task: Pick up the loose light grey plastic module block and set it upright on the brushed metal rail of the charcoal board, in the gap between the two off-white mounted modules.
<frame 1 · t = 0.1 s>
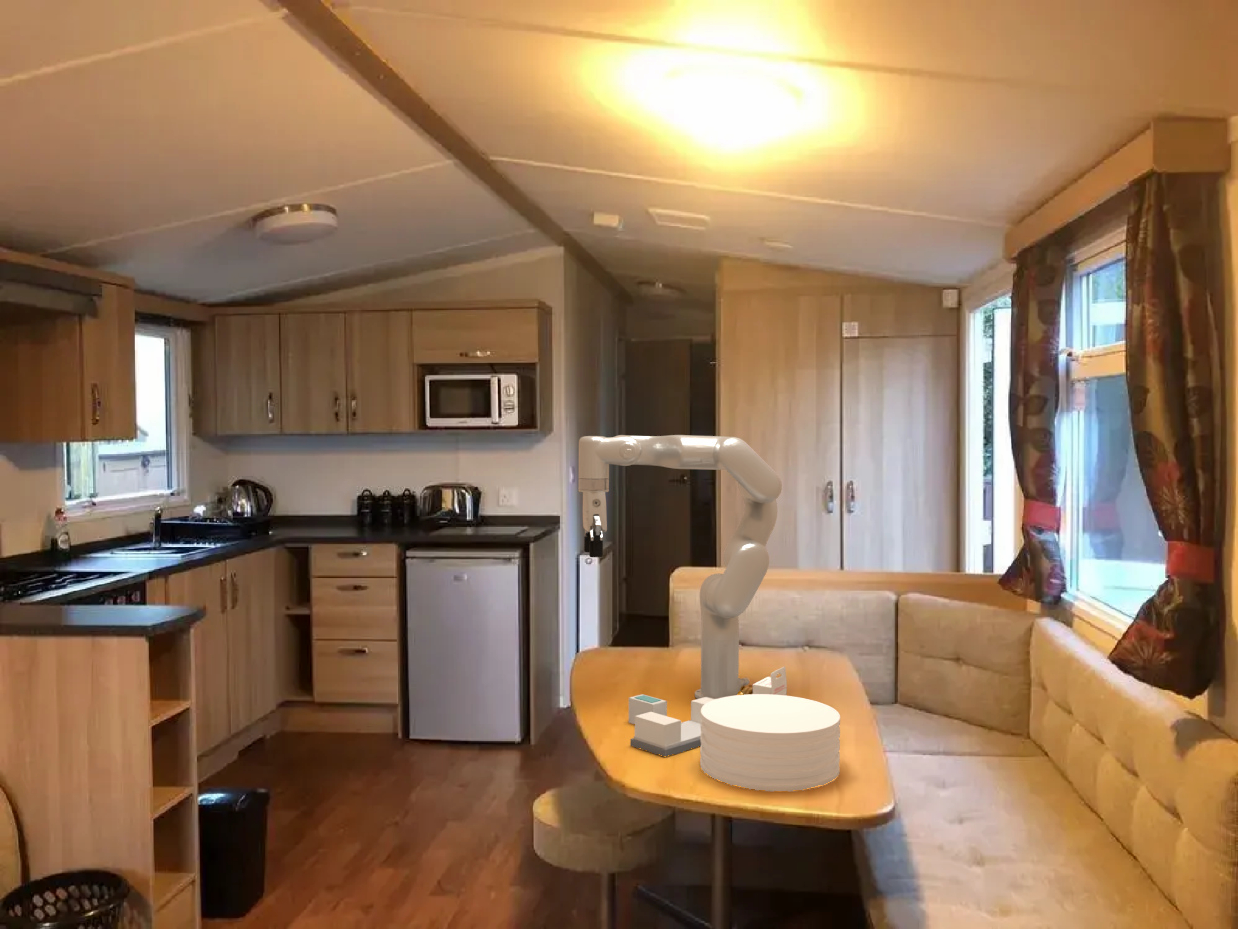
hand: (593, 554, 254), 37 cm above the table, tool pointing down, fingers open, 9 cm apart
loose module: (647, 725, 237), on the table
rail board: (686, 740, 225), on the table
plate stack: (769, 769, 208), on the table
ink cartridge box: (769, 733, 231), on the table
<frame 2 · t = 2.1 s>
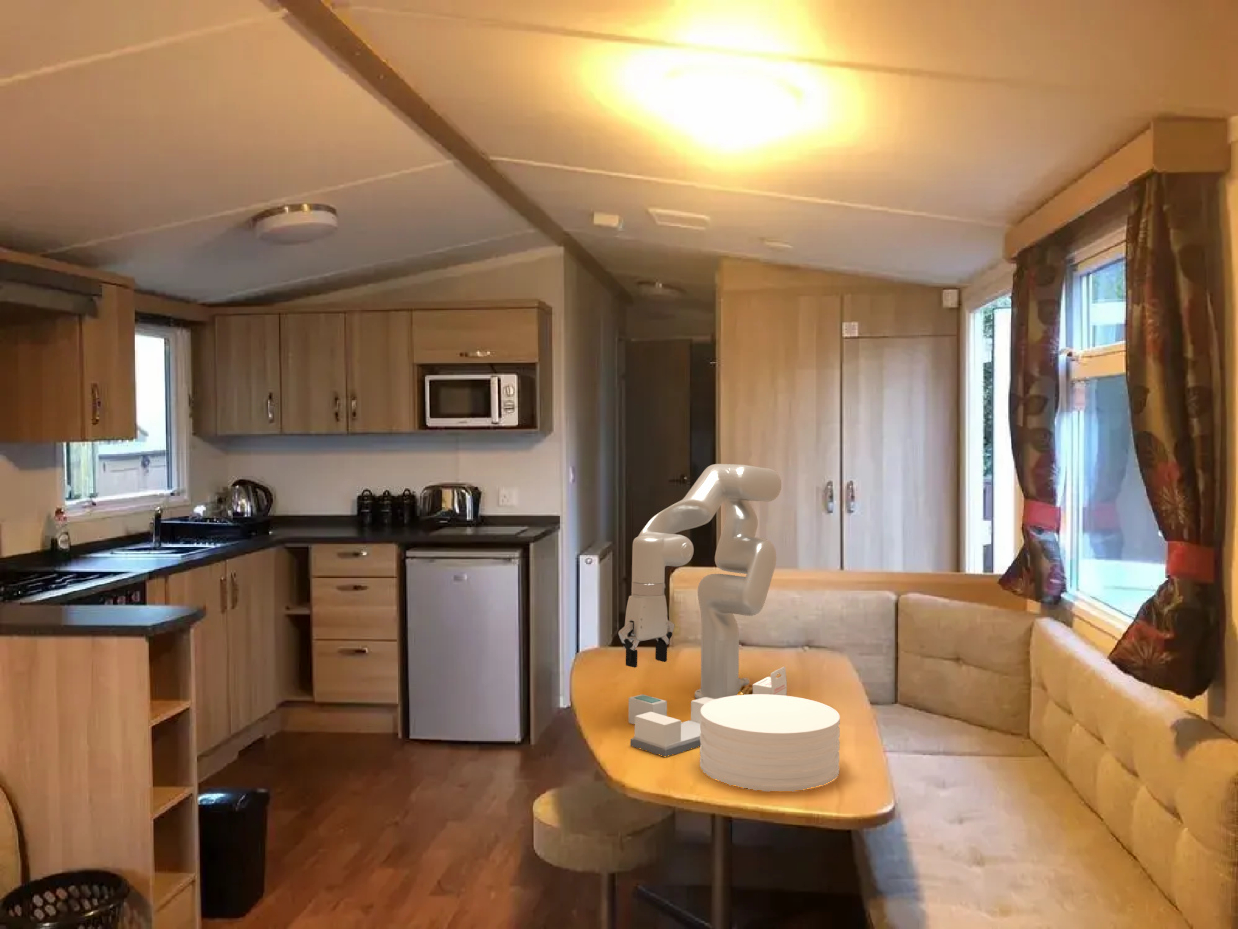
hand: (646, 663, 236), 14 cm above the table, tool pointing down, fingers open, 9 cm apart
nothing on the table moved.
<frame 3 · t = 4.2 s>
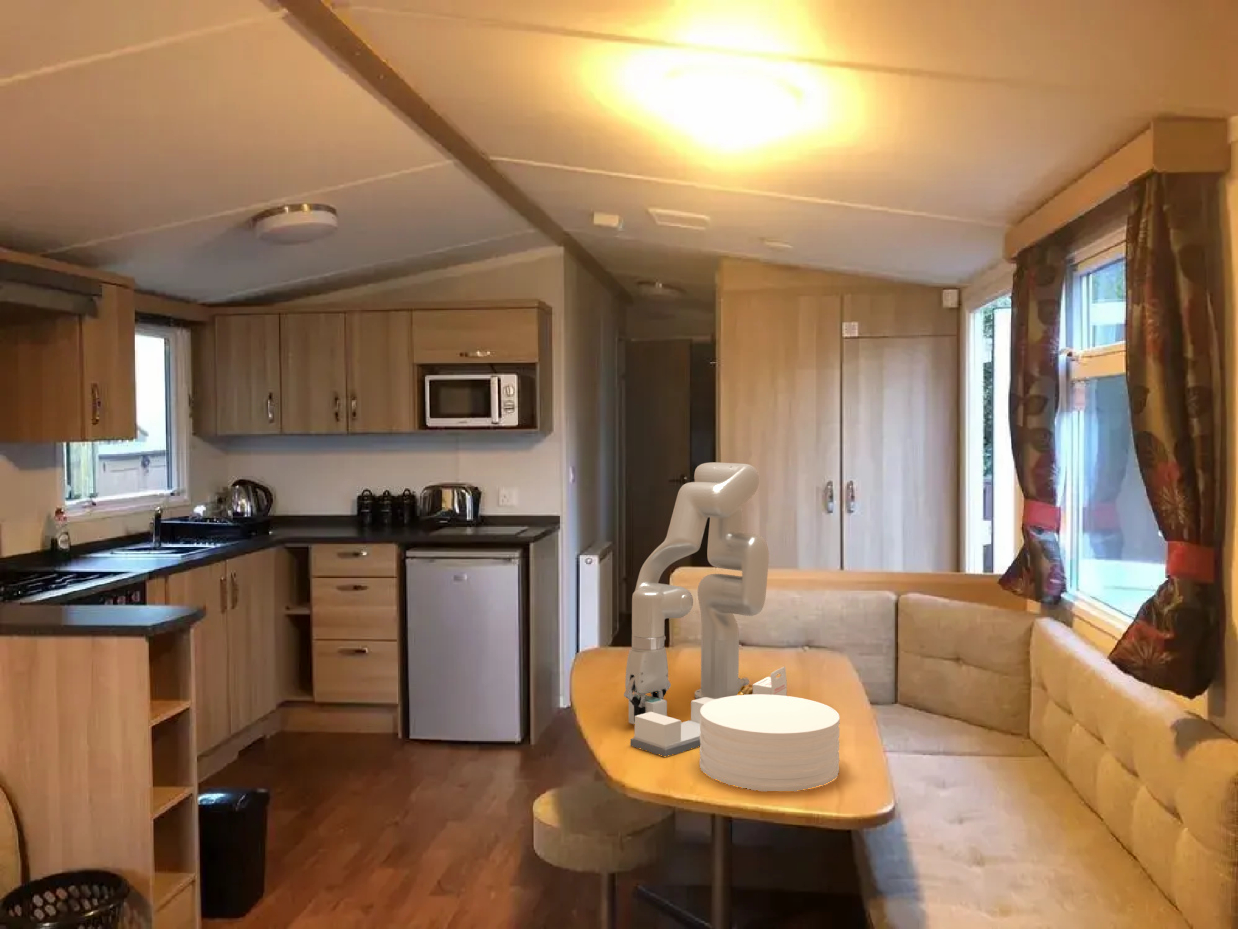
hand: (647, 720, 237), 1 cm above the table, tool pointing down, fingers closed on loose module, 4 cm apart
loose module: (647, 724, 237), on the table, touching gripper
everything else where it was.
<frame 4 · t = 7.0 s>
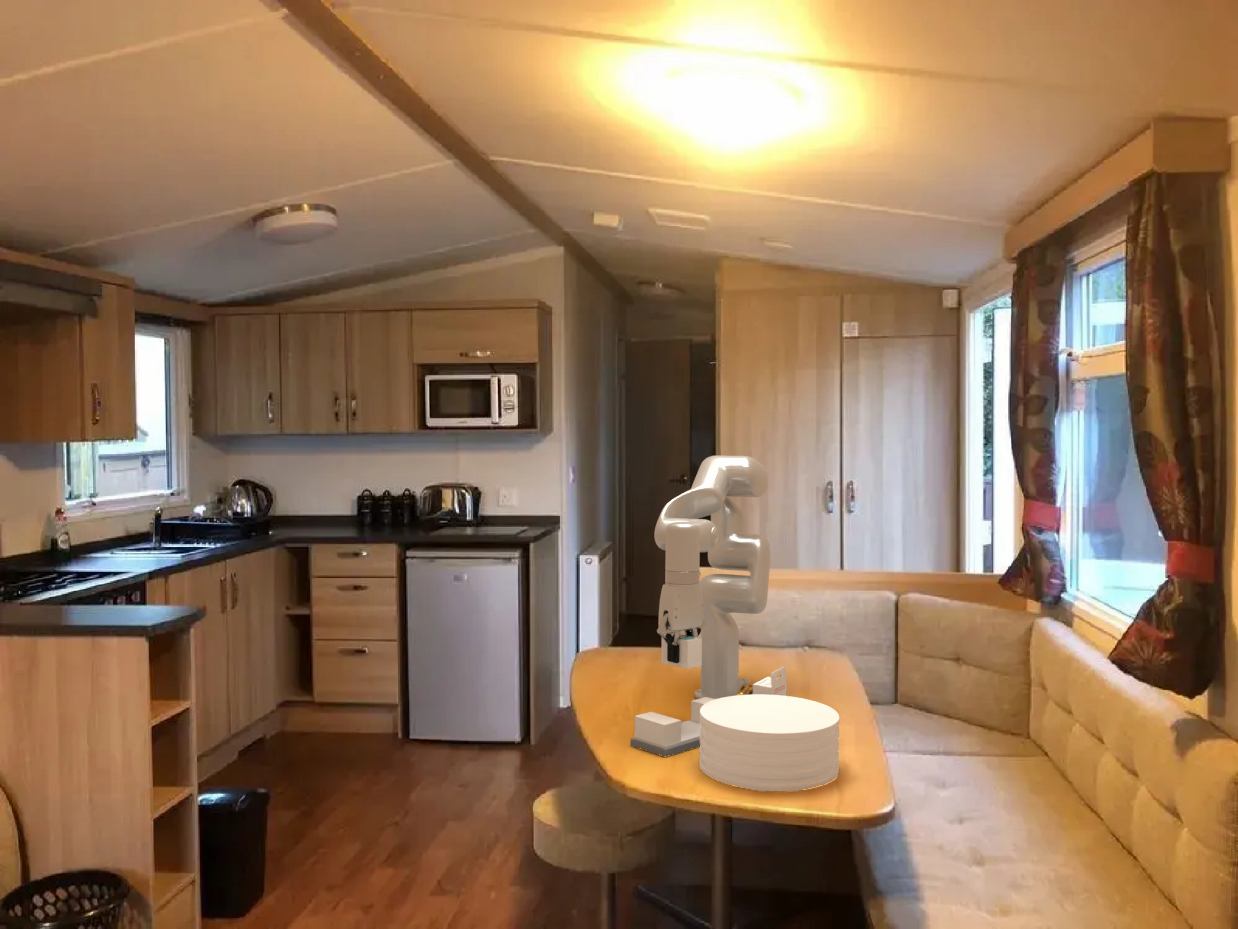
hand: (681, 659, 226), 18 cm above the table, tool pointing down, fingers closed on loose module, 4 cm apart
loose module: (681, 664, 226), point 17 cm above the table, touching gripper
everything else where it was.
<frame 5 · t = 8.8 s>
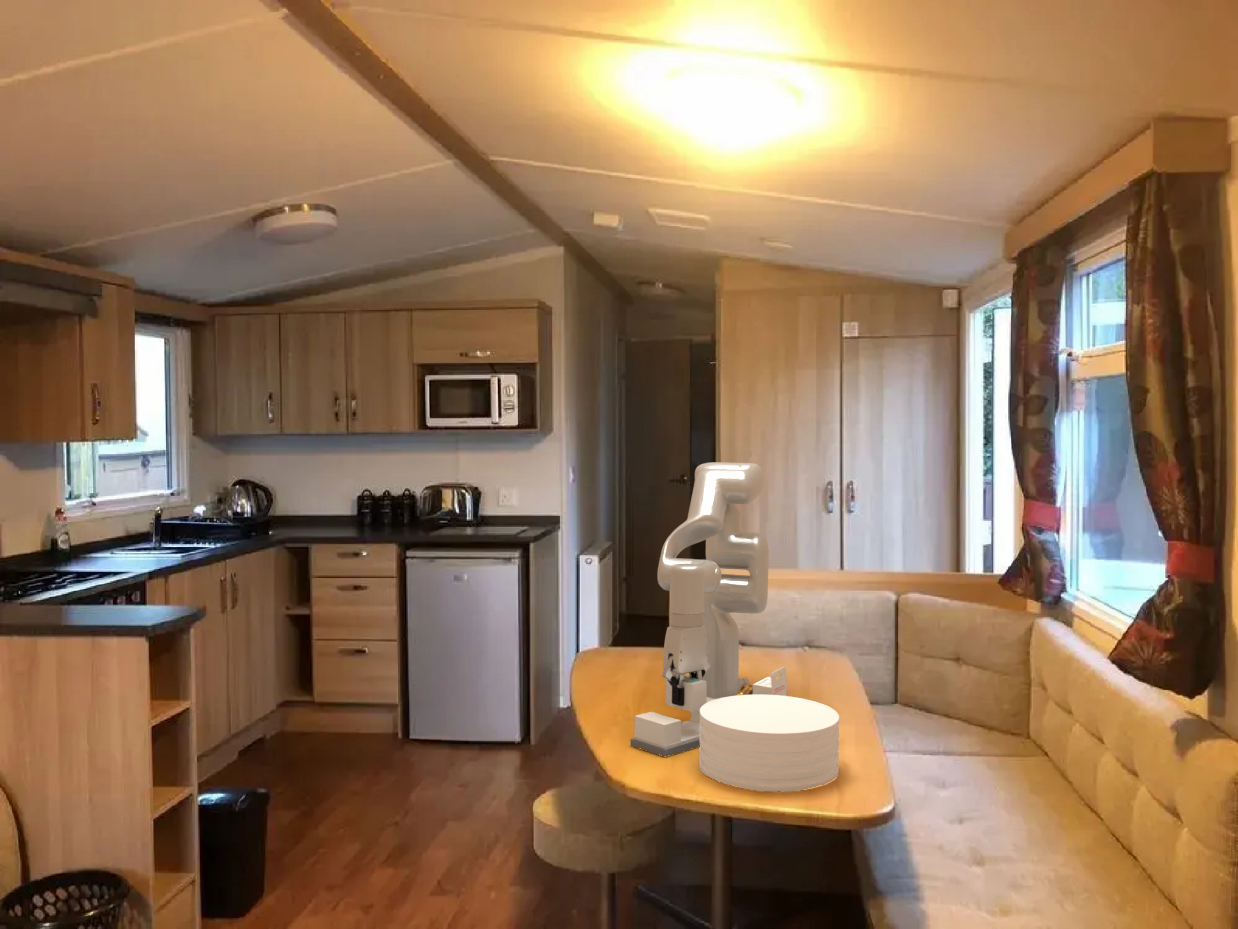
hand: (686, 701, 225), 9 cm above the table, tool pointing down, fingers closed on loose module, 4 cm apart
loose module: (685, 706, 225), point 7 cm above the table, touching gripper
everything else where it was.
when the fingers open (5 cm above the table, at t = 9.9 s): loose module drops 2 cm, resting on rail board.
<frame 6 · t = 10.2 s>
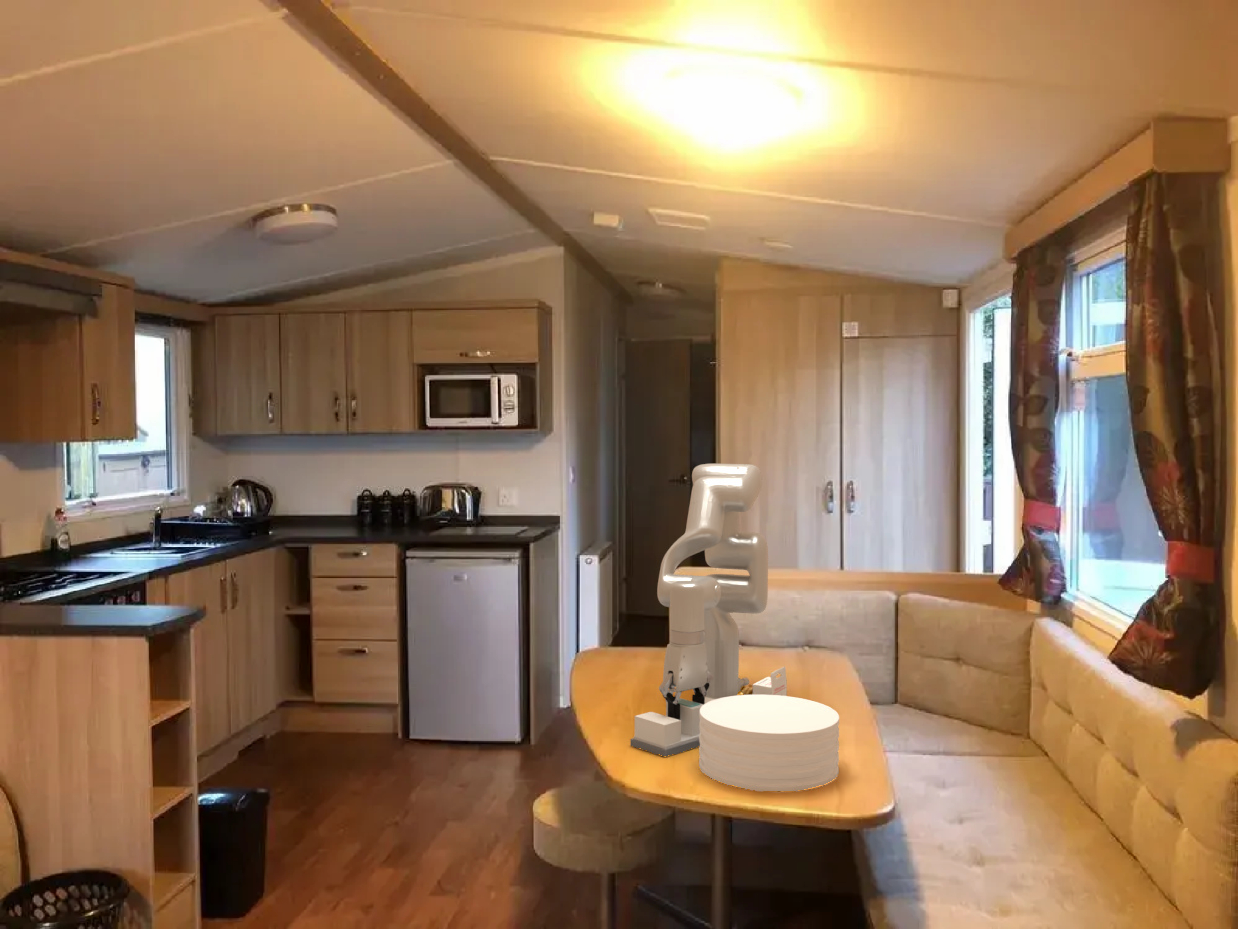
hand: (686, 716, 225), 5 cm above the table, tool pointing down, fingers open, 7 cm apart
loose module: (686, 730, 225), point 2 cm above the table, touching rail board
everything else where it was.
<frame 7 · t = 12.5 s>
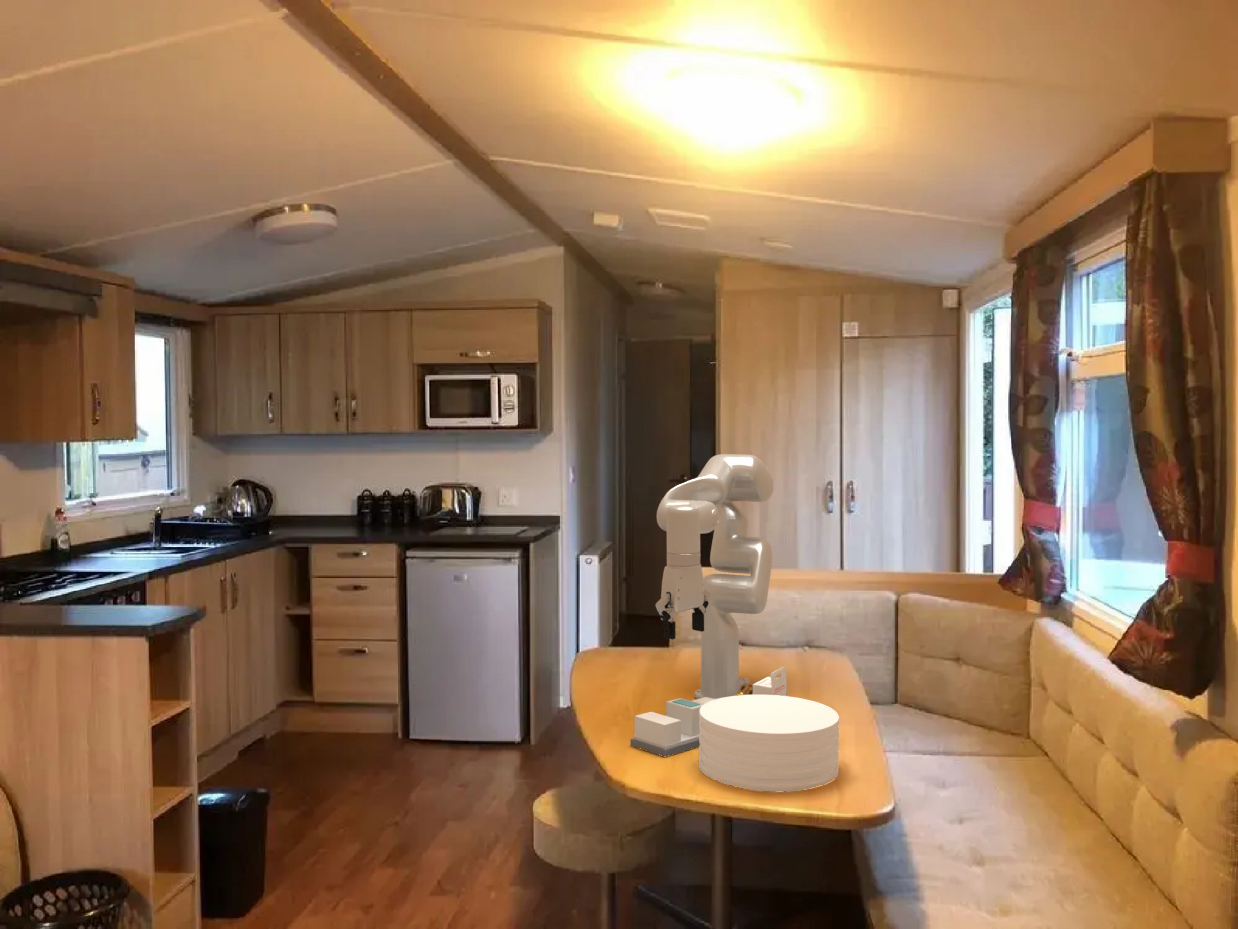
hand: (683, 634, 231), 22 cm above the table, tool pointing down, fingers open, 9 cm apart
nothing on the table moved.
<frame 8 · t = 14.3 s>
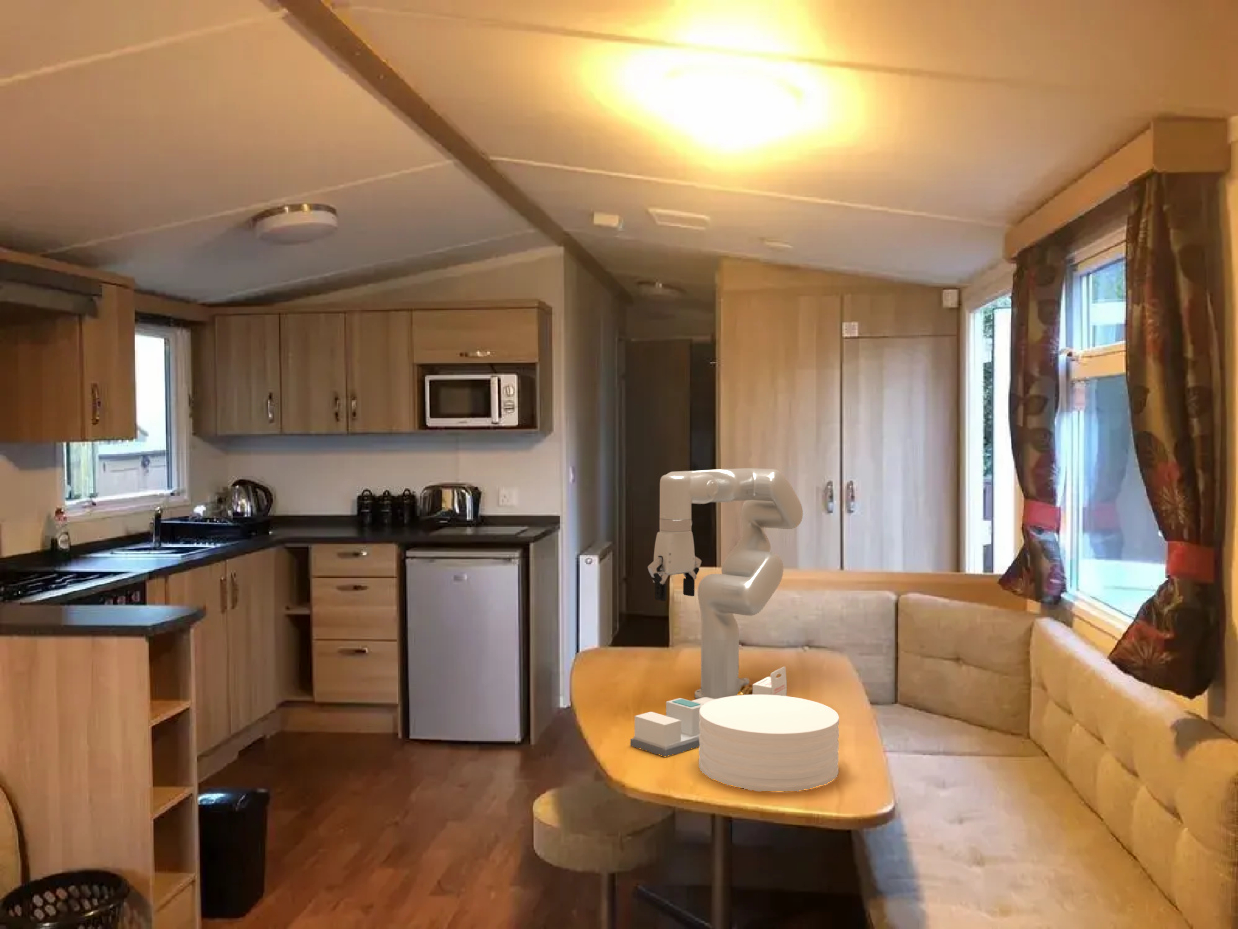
hand: (674, 597, 243), 28 cm above the table, tool pointing down, fingers open, 9 cm apart
nothing on the table moved.
at the end: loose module 0.1 cm off-centre on the rail board, point 2.1 cm above the rail board's base; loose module tilted 0°; the gripper is holding nothing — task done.
